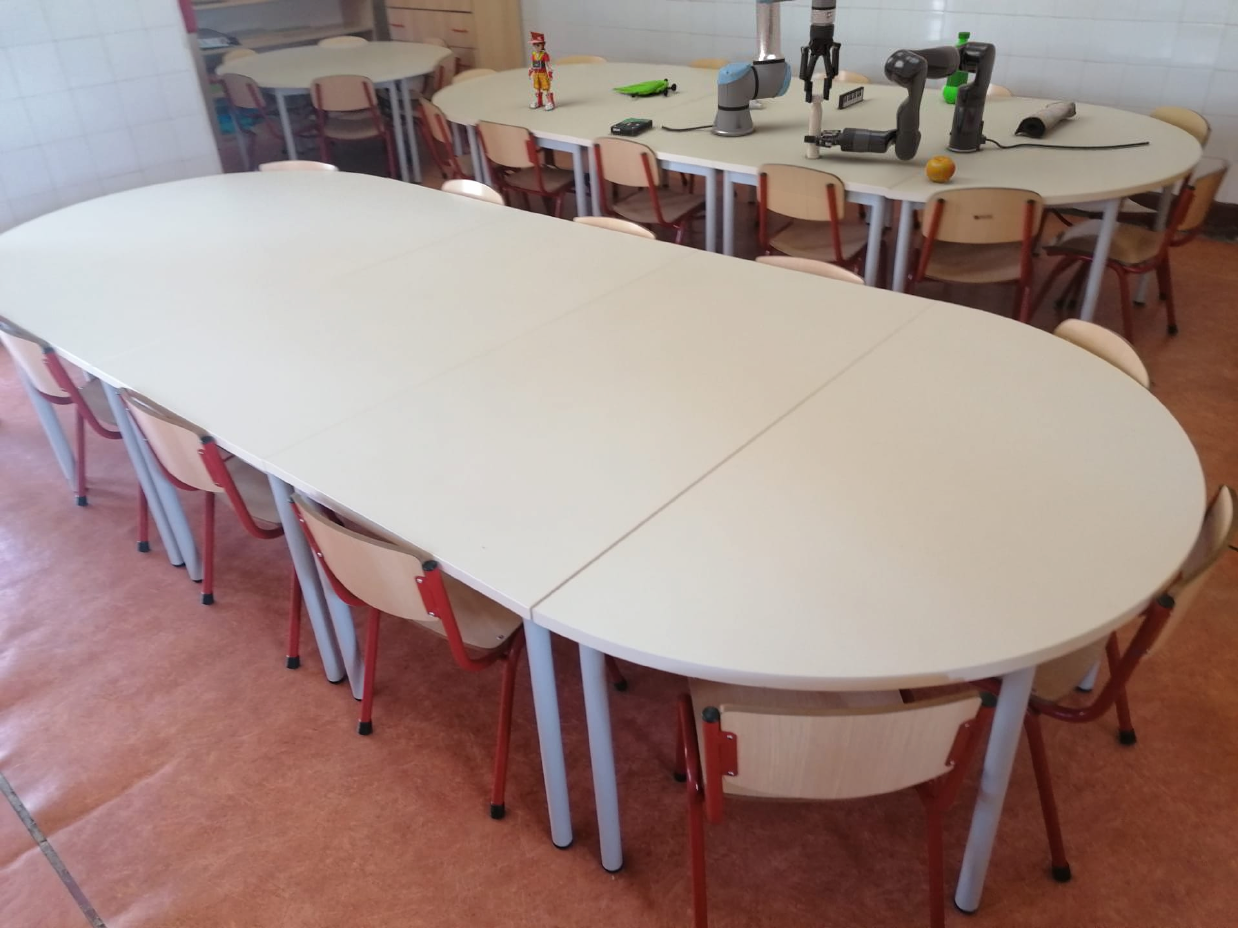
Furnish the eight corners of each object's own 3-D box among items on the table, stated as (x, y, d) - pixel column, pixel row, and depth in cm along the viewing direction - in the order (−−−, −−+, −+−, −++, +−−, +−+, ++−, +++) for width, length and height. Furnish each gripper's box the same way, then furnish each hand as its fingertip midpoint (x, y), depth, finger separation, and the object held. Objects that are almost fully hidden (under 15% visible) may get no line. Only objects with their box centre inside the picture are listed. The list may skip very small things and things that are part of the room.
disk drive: (633, 137, 337) (653, 126, 347) (633, 129, 336) (652, 119, 346) (610, 134, 342) (630, 124, 352) (609, 127, 340) (630, 117, 350)
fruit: (919, 172, 274) (936, 148, 271) (921, 174, 282) (937, 151, 279) (942, 187, 273) (960, 164, 270) (943, 189, 281) (960, 166, 278)
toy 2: (686, 85, 398) (631, 84, 414) (685, 72, 395) (629, 72, 411) (651, 104, 381) (596, 103, 397) (650, 92, 378) (594, 91, 394)
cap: (815, 103, 293) (816, 96, 292) (808, 101, 296) (808, 94, 295) (825, 101, 294) (826, 95, 293) (818, 99, 297) (818, 92, 296)
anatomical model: (728, 80, 368) (752, 74, 367) (733, 106, 374) (756, 99, 373) (735, 89, 356) (760, 82, 355) (739, 115, 362) (764, 108, 361)
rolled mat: (1043, 106, 330) (1068, 89, 322) (1057, 127, 331) (1082, 110, 323) (1010, 128, 313) (1035, 111, 305) (1024, 150, 313) (1050, 133, 305)
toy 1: (525, 109, 381) (517, 32, 364) (534, 104, 388) (527, 28, 371) (550, 110, 377) (543, 32, 360) (559, 105, 384) (553, 28, 367)
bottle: (807, 155, 307) (811, 95, 296) (819, 155, 306) (824, 95, 295) (806, 158, 304) (810, 98, 293) (818, 158, 303) (823, 98, 292)
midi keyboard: (840, 109, 355) (842, 95, 352) (838, 108, 355) (839, 95, 353) (863, 99, 365) (864, 86, 362) (860, 99, 366) (861, 86, 363)
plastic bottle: (973, 101, 354) (984, 32, 339) (955, 106, 349) (966, 36, 335) (952, 97, 361) (962, 29, 346) (934, 102, 356) (944, 33, 342)
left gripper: (802, 29, 276) (797, 107, 290) (855, 22, 281) (848, 99, 294) (790, 25, 282) (786, 102, 295) (842, 19, 287) (835, 95, 300)
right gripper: (863, 123, 299) (812, 120, 306) (853, 134, 289) (801, 131, 295) (860, 146, 304) (811, 142, 310) (850, 158, 293) (799, 154, 300)
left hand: (817, 101), depth 295 cm, fingers open, 6 cm apart
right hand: (806, 137), depth 303 cm, fingers closed on bottle, 4 cm apart
